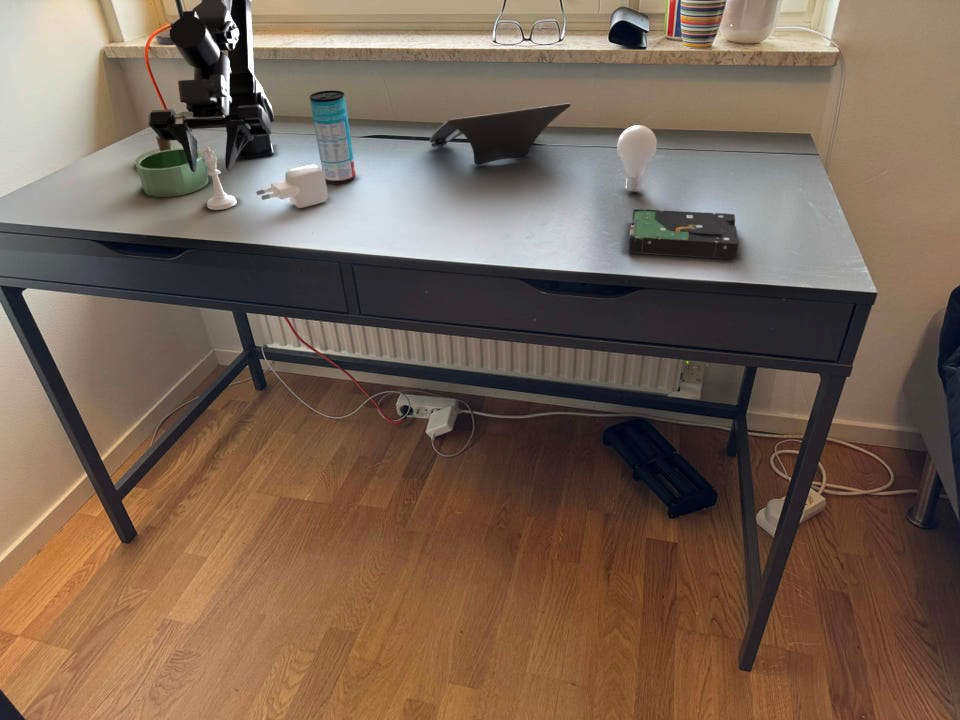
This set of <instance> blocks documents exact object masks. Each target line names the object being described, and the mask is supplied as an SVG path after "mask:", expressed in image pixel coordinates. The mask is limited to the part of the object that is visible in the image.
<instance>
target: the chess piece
mask: <svg viewBox="0 0 960 720" xmlns="http://www.w3.org/2000/svg"><path fill="white" fill-rule="evenodd" d="M212 154H213V155H214V154H215V150H214V149H210V146H206V147H205V150H202V155H207V157H205V158H203V159H204V162H205V165H206V167H207V168H208V171H207V174H208V177H209V176H211V178H212V185H213V186H212V187H213V195H212V197H210V198H209V199H208V200H207V201H206V207H207V208H208V209H209V210H213V211H214V210H215V211H220V210H222V211H223V210H226V209H230V208H233V207H234V206H236V205H237V203H238V201H237V199H236V197H235V196H234V195H231V194H227V192H225V191H224V188H223V186H222V183H221V181H220V178H219V175H220V174H221V173H222V172H221V170H220V169H217V162H218V158H217V156H212Z"/></svg>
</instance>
